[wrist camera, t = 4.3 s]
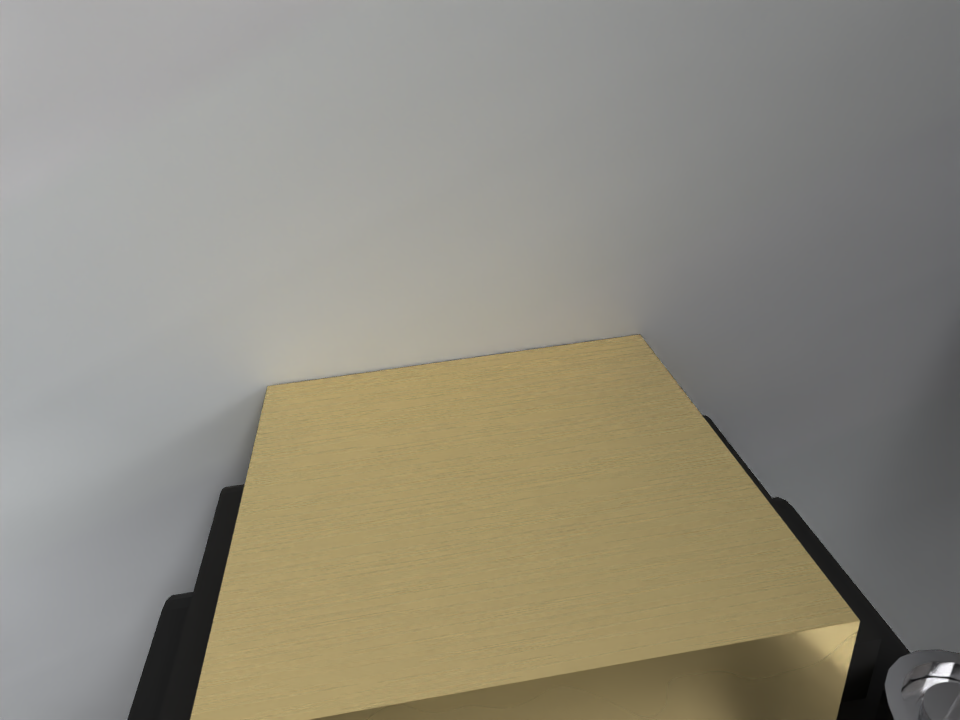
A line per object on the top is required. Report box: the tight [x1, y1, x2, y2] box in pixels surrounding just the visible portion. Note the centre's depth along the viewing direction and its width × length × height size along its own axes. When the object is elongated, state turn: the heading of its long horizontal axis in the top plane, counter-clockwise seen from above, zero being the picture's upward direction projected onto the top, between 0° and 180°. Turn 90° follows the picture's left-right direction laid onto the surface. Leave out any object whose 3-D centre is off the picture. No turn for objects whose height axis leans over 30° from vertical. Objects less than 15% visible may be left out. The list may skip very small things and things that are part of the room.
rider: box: [190, 334, 860, 720], centre depth 9 cm, size 5×5×5 cm
